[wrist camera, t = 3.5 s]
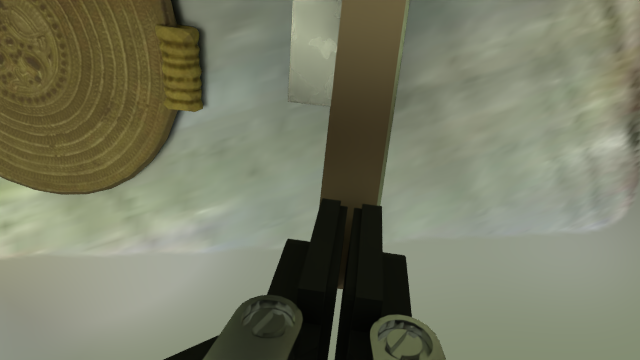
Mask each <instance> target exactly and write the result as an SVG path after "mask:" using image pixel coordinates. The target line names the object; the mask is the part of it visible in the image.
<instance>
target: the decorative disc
mask: <svg viewBox="0 0 640 360" xmlns="http://www.w3.org/2000/svg"><path fill="white" fill-rule="evenodd" d="M198 41H199V32H198V30H197V29H196V28H193V27H190V26H183V25H177V23H176V19H175V15H174V11H173V7H172V3H171V0H0V177H2V178H4V179H6V180H9V181H12V182H14V183H17V184H20V185H23V186H26V187H29V188H31V189H34V190H39V191H44V192H50V193H56V194H90V193H94V192H99V191H103V190H107V189H112V188H114V187H116V186H118V185H120V184H121V183H123V182H125V181H127V180H129V179H131V178H133V177H135V176H136V175H137V174H138V173H139V172H140V171H141V170H142V169H144V168H145V167H146V166H147V165H148V164H149V163H150V162H152V161H153V159H154V158H155V156H156V155H157V153H158V152H159V150H160V149H161V147H162V146H163V144H164V143H165V141H166V140H167V138H168V135H169V133H170V130H171V127H172V125H173V122H174V119H175V117H176V114H177V111H178V110H184V111H192V112H196V111H198V110H201V109H203V104H202V101H201V93H202V90H201V89H200V87H201V85H202V83H201V80H200V75H201V73H202V71H201V68H200V66H199V50H200V49H199V47H198V45H197V43H198Z"/></svg>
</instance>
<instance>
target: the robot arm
mask: <svg viewBox="0 0 640 360" xmlns="http://www.w3.org/2000/svg"><path fill="white" fill-rule="evenodd" d="M347 210H348V207H347V206H341V201H340V200H333V199H325V198H322V200H321V204H320V207H319V211H318V215H317V219H316V222H315V226H314V230H313V234H312V237H311V241H310V242H308V241H301V240H294V239H287V241H286V244H285V247H284V249H283V252H282V255H281V258H280V261H279V263H278V266H277V269H276V271H275V274H274V277H273V280H272V283H271V285H270V288H269V291H268V294H267V295H264V296H263V295H262V296H257V297H254V298H251V299H249V300H247V301H245V302H244V303H242V304H241V305H240V307H239V308H238V309H237V310H236V311H235V313H234V314H233V316H232V317H231V319H230V320H229V322H228V323H227V325H226V326H225V328H224V329H223V331H222V332H221V334H220V335H219V336H216V337H214V338H211V339H209V340H207V341H205V342H202V343H200V344H198V345H196V346H193V347H191V348H189V349H186V350H184V351H182V352H180V353H178V354H175V355H173V356H171V357H169V358H166V359H164V360H328V353H329V345H330V337H331V331H332V323H333V316H334V308H335V302H336V294H337V287H338V279H339V271H340V264H341V256H342V248H343V241H344V233H345V225H346V218H347ZM335 360H446V358H445V355H444V352H443V350H442V347H441V344H440V341H439V340H438V338H437V336H436V334H435V333H434V332H433V331H432V330H431V329H430V328H429V327H428V326H427V325H426V324H424V323H423V322H421V321H419V320H417V319H415V318H412V314H411V304H410V294H409V284H408V274H407V264H406V257H405V256H404V255H397V254H391V253H384V252H383V251H382V206H377V205H369V204H362V209H361V208H354V213H353V220H352V227H351V235H350V242H349V249H348V256H347V264H346V271H345V278H344V285H343V293H342V301H341V310H340V318H339V327H338V335H337V344H336V353H335Z"/></svg>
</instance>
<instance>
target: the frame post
mask: <svg viewBox="0 0 640 360" xmlns="http://www.w3.org/2000/svg"><path fill="white" fill-rule="evenodd" d="M341 7H342V0H293V9H292V29H291V50H290V70H289V91H288V102H296V103H305V104H313V105H322V106H331V97H332V88H333V79H334V70H335V61H336V52H337V43H338V34H339V25H340V16H341Z"/></svg>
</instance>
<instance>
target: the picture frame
mask: <svg viewBox="0 0 640 360" xmlns="http://www.w3.org/2000/svg"><path fill="white" fill-rule="evenodd" d="M409 3H410V0H342V7H341V16H340V25H339V34H338V43H337V52H336V61H335V70H334V79H333V88H332V97H331V106H330V116H329V125H328V134H327V143H326V152H325V161H324V170H323V179H322V188H321V197H320V204H321V200H322V198H325V199H333V200H340V201H341V206H347V207H348V210H347V218H346V225H345V233H344V241H343V248H342V256H341V264H340V271H339V279H338V287H337V289H343V285H344V278H345V271H346V264H347V256H348V249H349V242H350V235H351V227H352V220H353V213H354V208H361V209H362V204H369V205H377V206H380V204H381V197H382V190H383V183H384V176H385V169H386V162H387V155H388V148H389V141H390V134H391V127H392V121H393V114H394V107H395V100H396V93H397V86H398V79H399V72H400V65H401V58H402V51H403V44H404V37H405V31H406V24H407V17H408V10H409ZM319 207H320V206H319Z"/></svg>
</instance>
